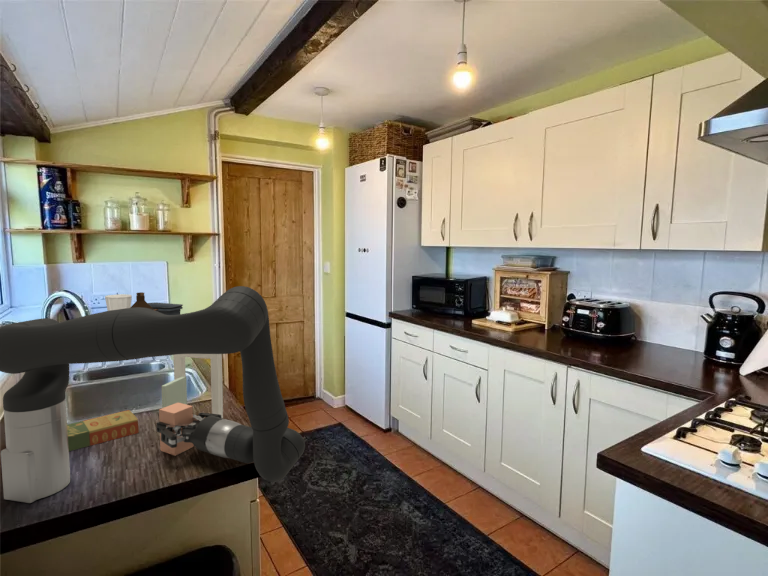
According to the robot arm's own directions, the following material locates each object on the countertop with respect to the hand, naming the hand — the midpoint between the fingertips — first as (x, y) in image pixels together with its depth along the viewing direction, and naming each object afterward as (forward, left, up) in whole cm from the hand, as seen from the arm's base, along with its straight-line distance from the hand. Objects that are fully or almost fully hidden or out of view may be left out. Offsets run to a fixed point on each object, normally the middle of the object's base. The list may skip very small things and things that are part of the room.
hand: (168, 421), depth 100 cm
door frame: (+14, +2, -6) cm, 16 cm away
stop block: (-1, -3, -6) cm, 7 cm away
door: (+10, +6, -6) cm, 12 cm away
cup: (+95, +101, -6) cm, 139 cm away
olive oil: (+84, +79, -6) cm, 116 cm away
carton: (0, +20, -7) cm, 21 cm away
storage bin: (+117, +96, -6) cm, 152 cm away
